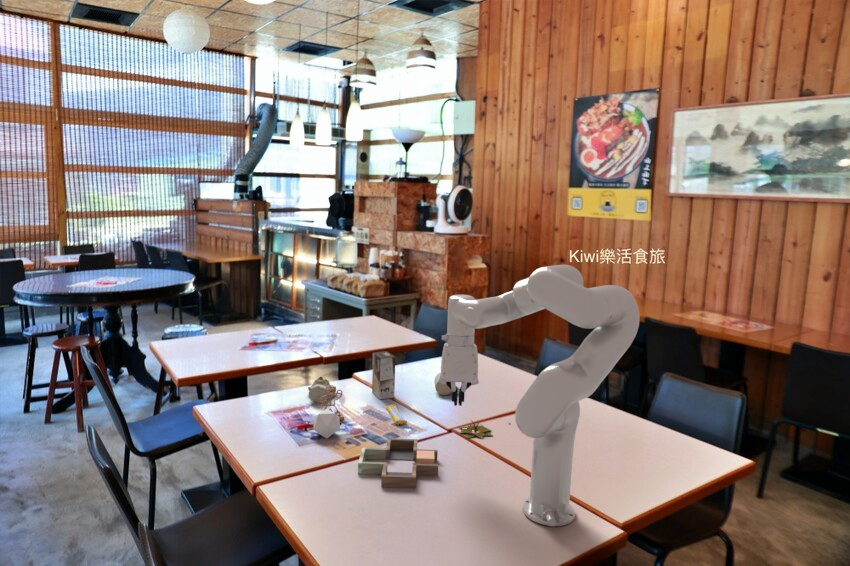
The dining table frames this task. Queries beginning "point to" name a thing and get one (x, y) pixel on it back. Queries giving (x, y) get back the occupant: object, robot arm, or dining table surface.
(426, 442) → the dining table surface
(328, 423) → the die
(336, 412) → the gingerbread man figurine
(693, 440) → the dining table surface
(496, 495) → the dining table surface
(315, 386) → the ceramic sculpture
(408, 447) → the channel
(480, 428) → the lily flower
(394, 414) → the candy bar
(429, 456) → the block
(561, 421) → the robot arm
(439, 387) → the ceramic mug
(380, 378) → the coffee box
